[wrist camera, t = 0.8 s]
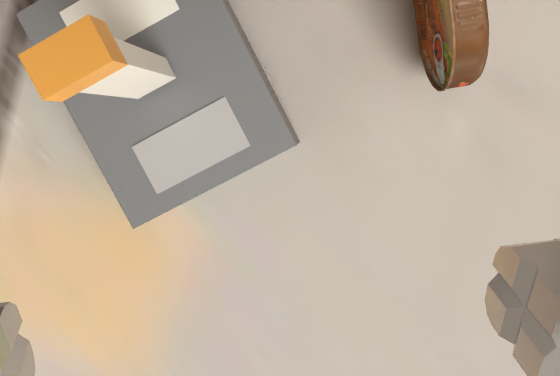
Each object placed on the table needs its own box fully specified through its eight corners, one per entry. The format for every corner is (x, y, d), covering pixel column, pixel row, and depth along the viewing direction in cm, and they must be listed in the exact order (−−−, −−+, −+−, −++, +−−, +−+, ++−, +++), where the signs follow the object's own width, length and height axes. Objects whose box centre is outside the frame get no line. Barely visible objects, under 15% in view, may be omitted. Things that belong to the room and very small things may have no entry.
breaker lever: (183, 80, 38) (112, 60, 25) (136, 106, 38) (42, 100, 26) (167, 49, 38) (87, 14, 25) (120, 76, 38) (17, 55, 25)
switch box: (299, 141, 45) (296, 145, 39) (157, 214, 46) (132, 229, 40) (199, -56, 43) (179, -84, 37) (56, 28, 45) (15, 13, 39)
